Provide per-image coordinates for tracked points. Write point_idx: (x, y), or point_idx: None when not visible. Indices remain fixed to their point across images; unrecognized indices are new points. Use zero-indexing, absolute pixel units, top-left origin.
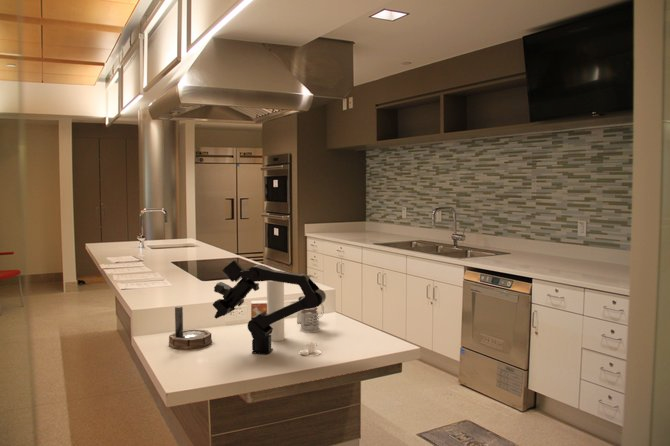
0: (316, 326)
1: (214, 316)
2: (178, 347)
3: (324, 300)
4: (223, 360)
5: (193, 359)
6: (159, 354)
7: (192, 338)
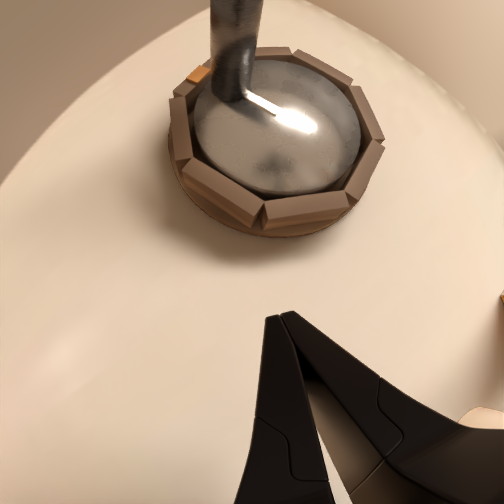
0: None
1: (266, 319)
2: (169, 142)
3: None
4: (107, 454)
5: (60, 316)
6: (85, 132)
7: (227, 159)
